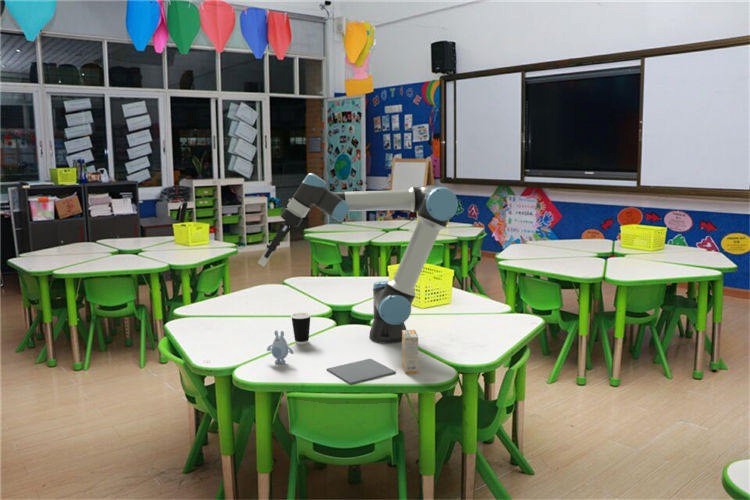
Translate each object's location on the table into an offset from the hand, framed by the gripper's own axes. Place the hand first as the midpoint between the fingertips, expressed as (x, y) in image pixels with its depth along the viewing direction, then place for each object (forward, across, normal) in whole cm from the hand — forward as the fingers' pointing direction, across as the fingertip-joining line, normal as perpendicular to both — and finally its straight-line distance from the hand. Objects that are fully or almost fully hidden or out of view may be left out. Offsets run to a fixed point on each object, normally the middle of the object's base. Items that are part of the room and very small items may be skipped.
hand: (262, 261), depth 235 cm
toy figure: (+26, +9, +25) cm, 37 cm away
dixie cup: (+22, -14, +30) cm, 40 cm away
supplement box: (0, +21, +62) cm, 66 cm away
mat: (+10, +21, +48) cm, 54 cm away
